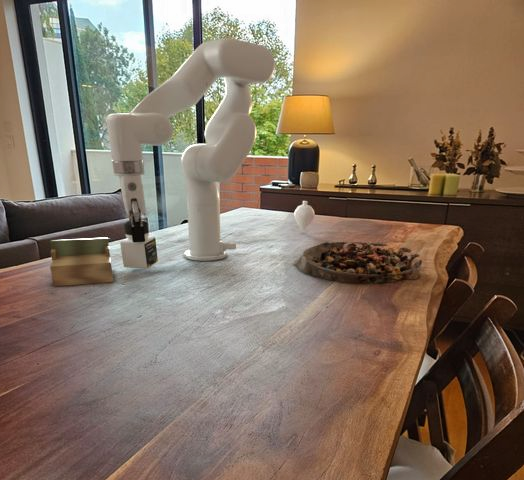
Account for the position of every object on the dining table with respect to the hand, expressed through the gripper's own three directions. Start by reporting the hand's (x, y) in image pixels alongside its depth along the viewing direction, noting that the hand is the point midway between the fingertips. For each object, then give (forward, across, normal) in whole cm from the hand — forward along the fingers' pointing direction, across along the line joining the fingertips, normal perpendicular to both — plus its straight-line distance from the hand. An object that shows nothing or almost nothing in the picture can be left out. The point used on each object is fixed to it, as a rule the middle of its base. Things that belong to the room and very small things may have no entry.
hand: (137, 238), depth 123 cm
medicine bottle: (+8, 0, 0) cm, 8 cm away
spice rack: (+8, -5, +15) cm, 18 cm away
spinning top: (+11, +36, -64) cm, 74 cm away
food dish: (+10, -16, -59) cm, 61 cm away
